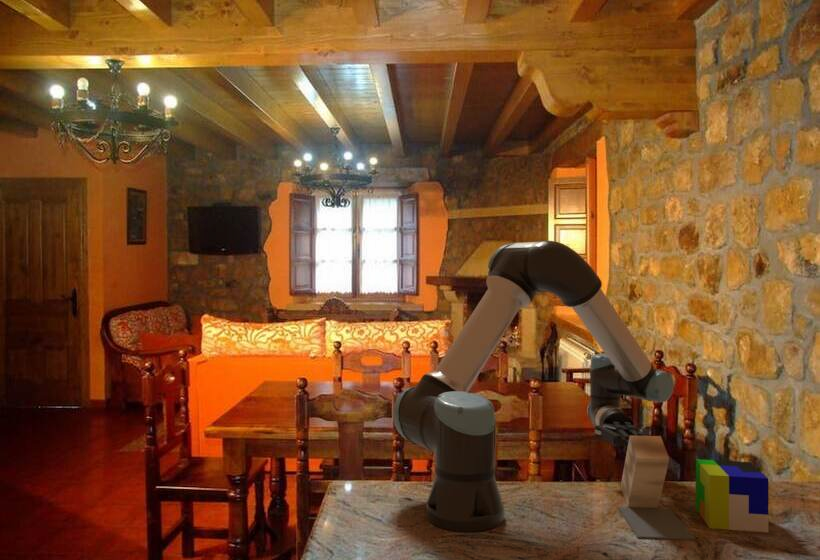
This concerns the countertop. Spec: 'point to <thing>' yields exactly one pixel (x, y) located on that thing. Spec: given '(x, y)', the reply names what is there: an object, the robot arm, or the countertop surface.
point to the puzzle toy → (732, 495)
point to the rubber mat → (655, 523)
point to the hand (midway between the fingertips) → (643, 451)
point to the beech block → (644, 471)
